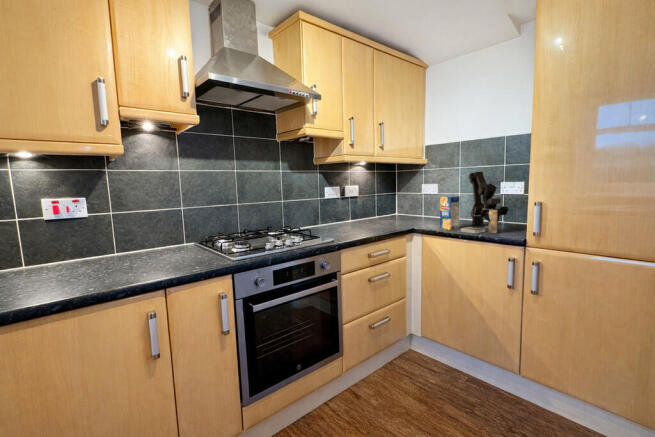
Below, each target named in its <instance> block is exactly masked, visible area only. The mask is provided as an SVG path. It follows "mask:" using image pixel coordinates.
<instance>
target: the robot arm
mask: <svg viewBox="0 0 655 437" xmlns="http://www.w3.org/2000/svg"><path fill="white" fill-rule="evenodd" d="M468 179H469V183H470V184H471V185H472V192H473V205H472V208H471V211H470V217H471V219H472V222H471V223H472V224H471V223H470V226H473V227H481V226H482V227H483V226H485V224H484V221H485V220H486V221H487V222H488V223H489V222H490V218H489V210H497V223H499V221H500V217H501V216H506V215H507V214H508V213H509V210H510V209H509V207H508V205H504V206H502V205H501V206H500V207H499V208H497V204H498V205H499V204H500V203H501V202H502V200H501V198H500V197H496V198H493V197H494V196H495V195H496V192H497V188H498V187H497V186H495V184H492V183H487V181H486V178H485V176H484V172H483V171H475V172H470V173H469V174H468ZM484 219H485V220H484Z"/></svg>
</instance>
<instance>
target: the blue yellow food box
mask: <svg viewBox="0 0 655 437" xmlns="http://www.w3.org/2000/svg"><path fill="white" fill-rule="evenodd" d="M439 197H440V199H439V200H440V202H439V204H440V205H439V210H440V211H439V214H440V216H439V228H440V229H443V228H444V230H447V229H448V231H454V230H456V231H457V230H460V200H461V198H460V197H461V196H459V195H458V196H457V195H456V196H455V195H442V196H441V195H440V196H439Z"/></svg>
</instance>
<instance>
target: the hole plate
mask: <svg viewBox="0 0 655 437" xmlns="http://www.w3.org/2000/svg"><path fill="white" fill-rule="evenodd" d="M460 232H461V233H469V234H480V233H485V232H486V228H484V227H483V228H482V227H477V226H468V227H461V228H460Z"/></svg>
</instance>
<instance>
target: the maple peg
mask: <svg viewBox="0 0 655 437" xmlns="http://www.w3.org/2000/svg"><path fill="white" fill-rule="evenodd" d="M488 215H489V218H490V222H488V233H489V234H497V232H498V222H497V210H489V212H488Z"/></svg>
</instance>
